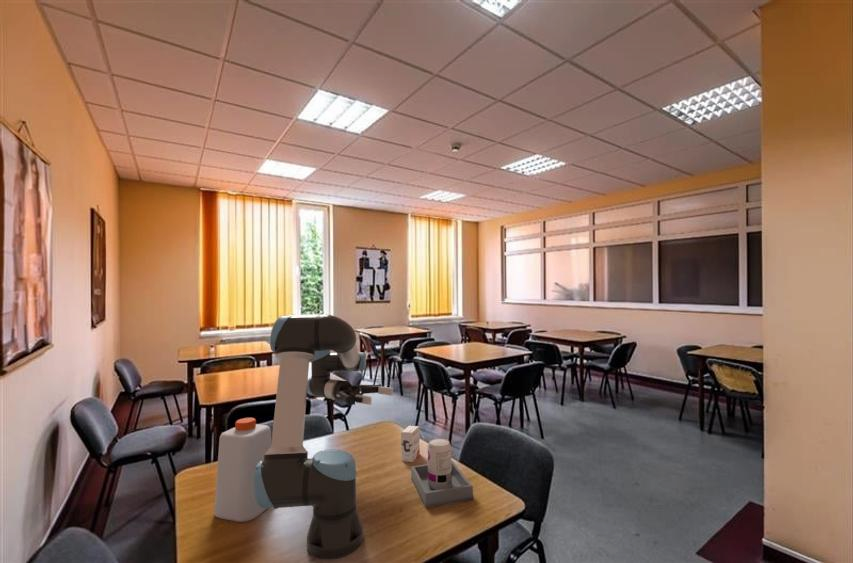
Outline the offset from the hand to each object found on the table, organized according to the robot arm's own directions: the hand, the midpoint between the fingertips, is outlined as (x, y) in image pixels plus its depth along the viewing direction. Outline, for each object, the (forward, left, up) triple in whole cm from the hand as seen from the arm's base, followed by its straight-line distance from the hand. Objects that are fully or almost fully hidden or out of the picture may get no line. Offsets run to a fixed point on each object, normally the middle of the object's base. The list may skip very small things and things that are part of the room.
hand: (382, 396), depth 142 cm
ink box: (+14, -14, -30) cm, 36 cm away
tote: (-14, -18, -30) cm, 37 cm away
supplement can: (-14, -18, -29) cm, 37 cm away
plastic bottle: (-7, +45, -30) cm, 55 cm away
